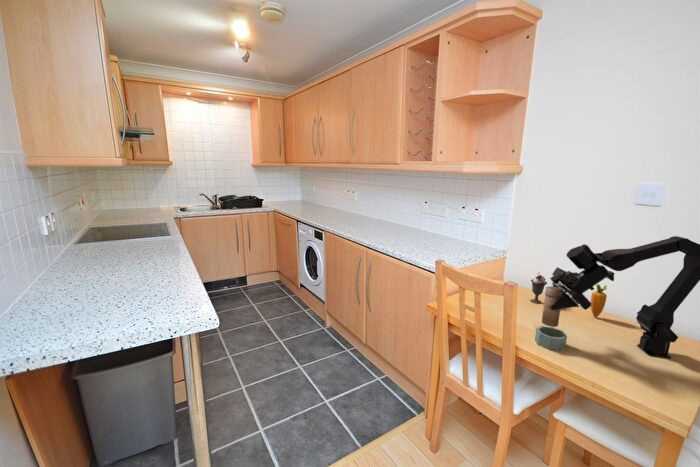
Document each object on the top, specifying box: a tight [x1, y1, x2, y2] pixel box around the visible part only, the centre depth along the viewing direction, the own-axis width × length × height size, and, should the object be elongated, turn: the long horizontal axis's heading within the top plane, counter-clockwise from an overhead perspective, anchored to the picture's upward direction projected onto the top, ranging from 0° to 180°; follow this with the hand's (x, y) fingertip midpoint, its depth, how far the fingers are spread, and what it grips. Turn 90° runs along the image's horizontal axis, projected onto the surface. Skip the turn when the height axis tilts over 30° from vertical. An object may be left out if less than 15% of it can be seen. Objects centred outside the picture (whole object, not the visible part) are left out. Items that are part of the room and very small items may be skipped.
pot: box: [534, 325, 568, 352], centre depth 112 cm, size 9×9×4 cm
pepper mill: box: [541, 285, 563, 328], centre depth 111 cm, size 5×5×13 cm
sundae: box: [529, 273, 548, 305], centre depth 147 cm, size 7×7×15 cm
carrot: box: [590, 283, 608, 319], centre depth 131 cm, size 5×5×15 cm
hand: (548, 305), depth 112 cm, fingers closed on pepper mill, 5 cm apart
